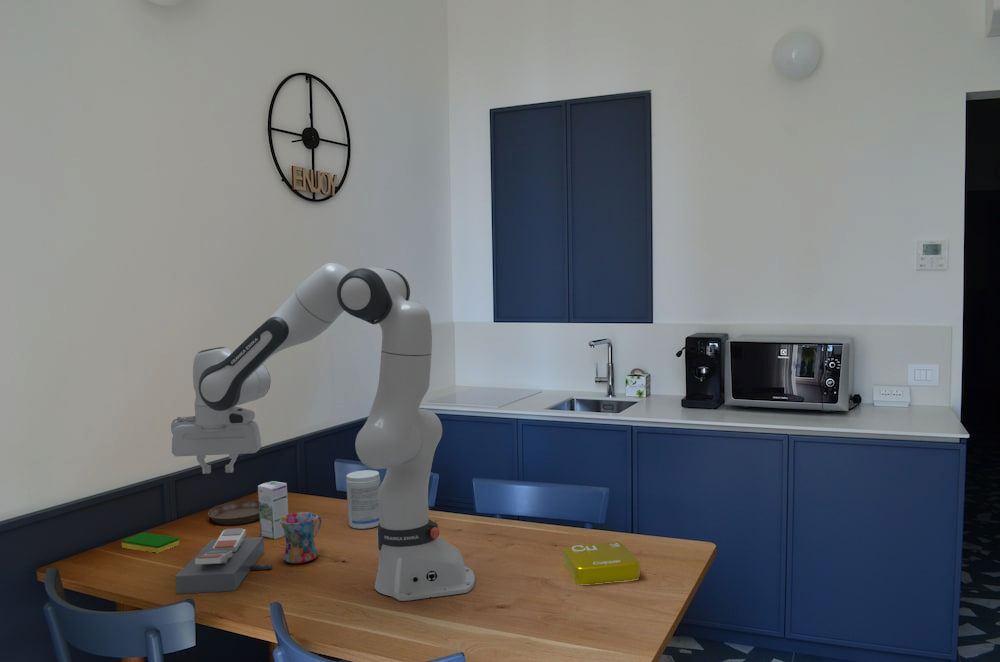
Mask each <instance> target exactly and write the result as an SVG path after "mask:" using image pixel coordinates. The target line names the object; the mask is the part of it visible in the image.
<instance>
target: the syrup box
mask: <svg viewBox="0 0 1000 662" xmlns="http://www.w3.org/2000/svg"><path fill="white" fill-rule="evenodd" d="M257 495H258V497H257V498H258V500H259V515H260V519H259V526H260V529H259V530H260V537H263V538H266V539H272V540H277V539H281V538H283V537H285V533H284V530H283V527H282V525H281V523H280V521H279V520H280V518H282V517H283V516H286V515H289V501H288V483H287V482H280V481H274V480H271V481H267V482H264V483H261V484H259V485H257Z"/></svg>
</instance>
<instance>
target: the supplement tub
mask: <svg viewBox="0 0 1000 662" xmlns="http://www.w3.org/2000/svg"><path fill="white" fill-rule="evenodd" d="M345 481H346V483H345V484H346V499H347V501H346V502H347V503H346V504H347V515H348V525H349V527H350V528H353V529H359V530H364V529H365V530H368V529H372V528H375V527H378V524H379V501H378V491H379V487H380V485H381V477H380V472H379V471H377V470H369V469H368V470H367V469H366V470H365V469H364V470H357V471H352V472H349V473H347V474H346V480H345Z"/></svg>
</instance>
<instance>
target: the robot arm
mask: <svg viewBox="0 0 1000 662" xmlns="http://www.w3.org/2000/svg"><path fill="white" fill-rule="evenodd" d="M410 297H411V287H410V283H409V281H408V280H407V279H406V277H405V276H404V275H403V274H402V273H400V272H398V271H397V270H394V269H391V268H381V267H378V266H377V267H375V266H374V267H373V266H372V267H364V268H363V267H362V268H361V267H360V268H356V269H353V270H351V271H350V270H349V268H348V267H345V266H344V265H342V264H341V263H340V264H339V263H337V262H329V263H325V264H323V265H322V266H320V267H319V268H317V269H316V270H314V272H312V273H311V274H310V275H309V276H308V277H307V278H306V279H304V281H302V282H301V284H299V286H297V287H296V289H295V290H294V291H293V292H292V293H291V294H290V295H289V296H288V297H287V298H286V299H285V301H284V302H283V303H282V304H281V305H280V306H279V307H278V308H277V309H276V310H275V312H274V313H272V314H271V316H270V317H268V318H267V319H266V321H265V322H263V323H262V324H261V325H260V326H259V327H258V328H257V329H256V330H254V331H253V332H252V333H251V334H249V336H248V337H247V338H246V339H245V340H244V341H243V342H242V343H241V344H240V345H239V346H238V347H237V348H235V349H234V350H233V352H232V350H231V349H229V348H228V347H224V346H219V347H212V348H208V349H204V350H203V349H202V350H200V351H198V352H197V353H196V354H195V356H194V358H193V365H192V366H193V367H192V383H193V389H194V391H195V399H194V416H177V418H175V419H173V420H172V421H171V424H170V431H171V435H172V437H171V453H172V454H173V456H174V457H193V456H194V457H195V456H196V461H197V463H198V464H199V466H200V467H201V471H202V474H203V475H209V474H211V473H212V466H211V464H208V463H207V462H206V461H205V459H206V458H207V457H206V456H218V455H228V458H229V459H231V460H230V462H229V464H228V463H227V464H225V466H224V469H225V471H224V473H226V474H230V473H234V464H235V463H236V461H237V459H238V457H239V456H238V455H241V454H243V455H244V454H256V453H257V452H258V451H260V449H261V447H262V439H261V433H260V428H259V425H258V424H257V422H256V421H254V420H255V417H256V413H255V411H253V410H252V409H247V408H244V407H240V406H239V405H243V404H247V403H251V402H254V401H257V400H260V399H261V398H264V396H266V394H267V393H268V392H269V390H270V387H271V375H270V372H269V370H268V368H267V367H266V366H265V362H267V360H269V359H270V358H271V357H272V356H274V355H275V354H277V353H279V352H281V351H283V350H286V349H288V348H291V347H294V346H296V345H300V344H304V343H307V342H310V341H312V340H314V339H316V338H317V337H319V336H320V335H321V334H322V333H323V332H325V331H326V330H327V329H329V327H330V326H331V325H333V323H334V322H335V321H336V320H337V319H338V318H339V317H340V315H341V314H342V313H344V311H345V312H346V313H347V314H348V315H351V316H352V317H355V318H357V319H360V320H362V321H365V322H366V323H369V324H371V325H377V324H378V325H379V326H380V328H381V333H382V334H381V337H382V339H381V348H380V349H381V351H380V362H379V363H380V364H379V365H380V366H379V377H378V378H379V379H378V384H377V389H376V393H375V396H374V399H373V403H372V405H371V409H370V412H369V415H368V418H367V419H366V421H365V423H364V424H363V426H362V428H361V429H360V430H359V431H358V433H357V434H356V438H355V441H354V442H355V444H354V445H355V452H356V455H357V457H358V459H359V460H360V462H361V463H362V464H363V465H365V466H366V467H368V468H369V469H374V470H380V469H383V470H384V469H386V472H385V475H384V478H383V480H382V481H381V482H380V484H381V485H380V487H379V491H378V501H379V524H378V526H377V531H376V532H377V533H376V535H377V536H376V537H377V547H378V551H379V554H378V568H377V574H376V577H375V583H374V589H375V591H377V592H378V593H380V594H383V595H384V596H390V597H392V598H394V599H396V601H398V602H399V601H400V602H407V601H414V600H423V599H429V598H430V597H431V598H438V597H445V596H452V595H454V596H455V595H459V594H467V593H469V592H470V591H471V590H472V589H473V588H474V587H475V583H476V580H475V578H476V577H475V573H474V571H473V569H472V568H470V567H468V566H466V565H465V562H464V558H463V556H462V553H461V551H460V550H459V549H458V548H457V547H456V546H455V545H452V544H451V543H449V542H448V541H446V540H445V539H443V538H442V537H440V534H441V531H440V528H439V525H438V522H437V520H434V521H433V520H431V519H430V518H429V517H430V515H429V514H430V513H429V483H430V482H429V481H430V476H431V472H432V471H431V470H432V467H433V466H432V465H433V461H434V457H435V452H436V449H437V446H438V445H439V443H440V441H441V439H442V436H443V424H442V422H441V420H440V418H439V416H437V414H436V413H434V412H433V411H432V410H429V409H425V408H420V406H421V403H422V402H423V399H424V398H425V396H426V394H427V392H428V391H429V389H430V382H431V381H430V380H431V368H432V367H431V364H432V352H433V350H432V349H433V335H432V334H433V333H432V329H433V328H432V321H431V314H430V311H429V309H427V308H426V307H425V306H424V305H423V304H422V303H418V302H416V301H409V300H410Z"/></svg>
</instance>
